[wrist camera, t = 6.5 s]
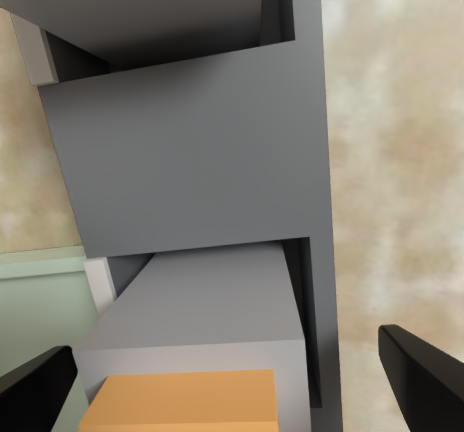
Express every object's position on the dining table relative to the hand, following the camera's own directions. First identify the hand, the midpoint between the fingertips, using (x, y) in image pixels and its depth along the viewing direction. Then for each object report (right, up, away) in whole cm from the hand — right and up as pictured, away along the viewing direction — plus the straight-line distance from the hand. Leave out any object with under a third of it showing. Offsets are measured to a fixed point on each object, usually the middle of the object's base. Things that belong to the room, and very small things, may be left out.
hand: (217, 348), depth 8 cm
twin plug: (-1, +13, 0) cm, 13 cm away
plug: (0, +1, +3) cm, 4 cm away
